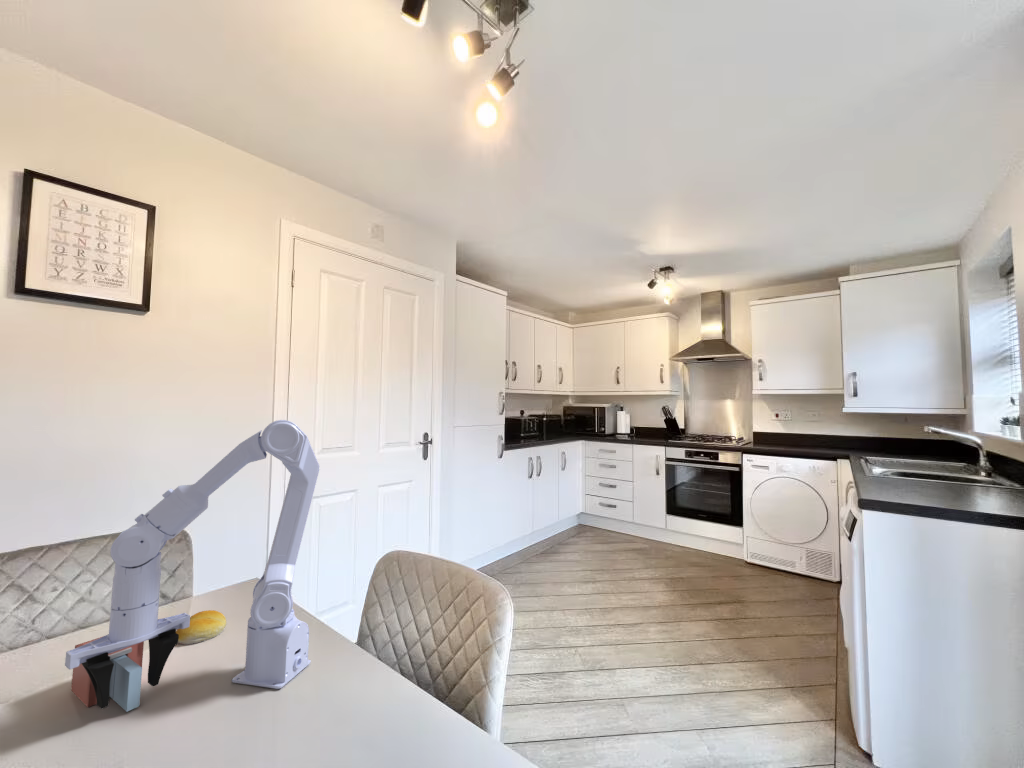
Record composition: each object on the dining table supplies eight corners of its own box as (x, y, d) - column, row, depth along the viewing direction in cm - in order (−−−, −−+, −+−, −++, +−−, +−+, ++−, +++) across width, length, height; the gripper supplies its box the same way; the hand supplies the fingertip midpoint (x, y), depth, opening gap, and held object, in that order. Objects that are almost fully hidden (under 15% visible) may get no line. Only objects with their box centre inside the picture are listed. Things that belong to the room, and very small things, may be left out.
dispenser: (141, 686, 70) (145, 642, 71) (89, 708, 65) (93, 660, 66) (122, 670, 75) (125, 629, 75) (71, 690, 69) (74, 645, 70)
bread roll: (166, 649, 82) (167, 627, 83) (188, 627, 91) (189, 607, 91) (215, 643, 84) (216, 622, 85) (232, 622, 93) (233, 603, 93)
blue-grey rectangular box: (139, 705, 65) (142, 667, 66) (126, 711, 64) (129, 672, 64) (108, 678, 72) (111, 644, 72) (95, 683, 70) (98, 648, 71)
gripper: (178, 582, 75) (173, 663, 74) (62, 614, 63) (53, 712, 61) (197, 590, 71) (192, 676, 70) (78, 626, 59) (69, 730, 58)
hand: (128, 694), depth 66 cm, fingers open, 5 cm apart
